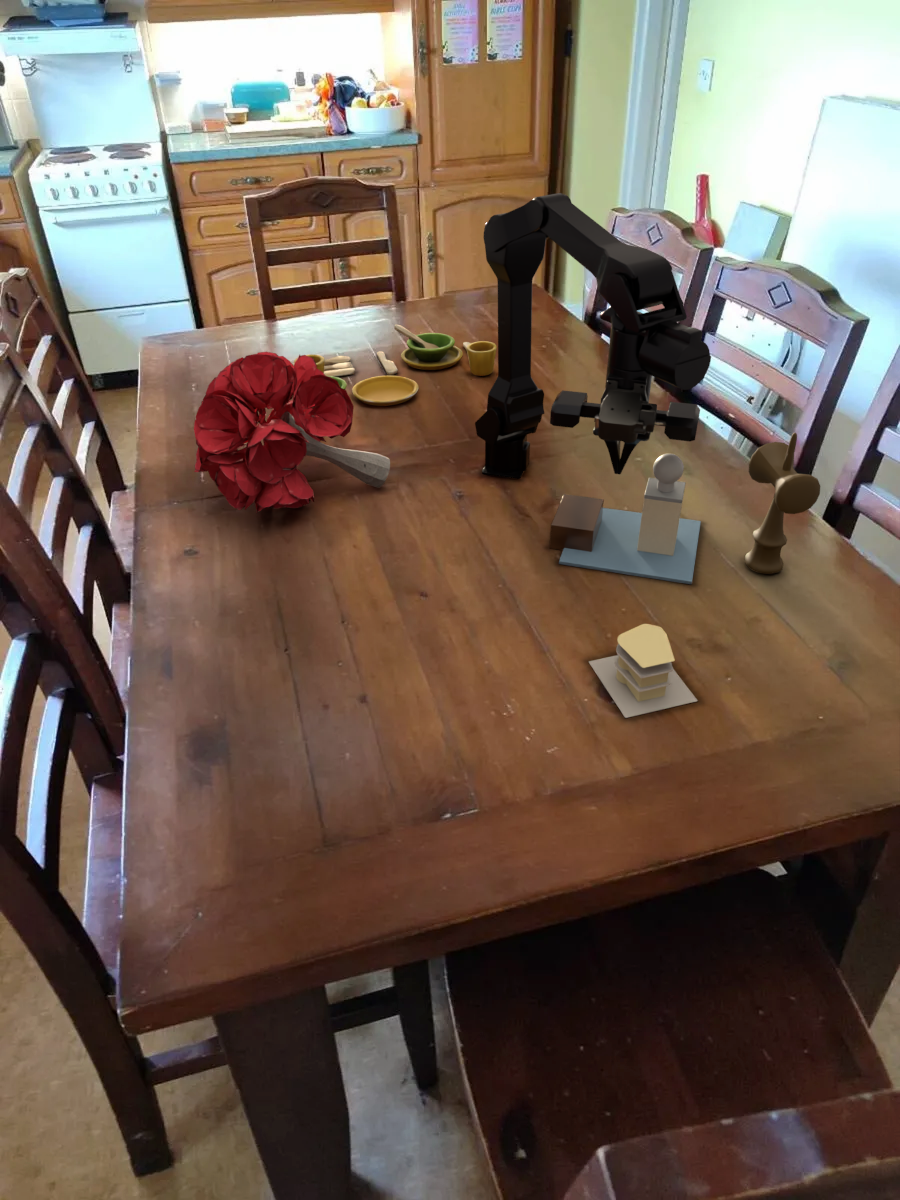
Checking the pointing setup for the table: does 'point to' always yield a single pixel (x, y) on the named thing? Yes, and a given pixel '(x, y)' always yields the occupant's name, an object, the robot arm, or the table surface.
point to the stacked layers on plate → (642, 673)
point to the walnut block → (576, 523)
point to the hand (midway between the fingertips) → (618, 472)
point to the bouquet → (275, 431)
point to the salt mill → (662, 506)
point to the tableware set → (421, 354)
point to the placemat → (621, 555)
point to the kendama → (778, 501)
